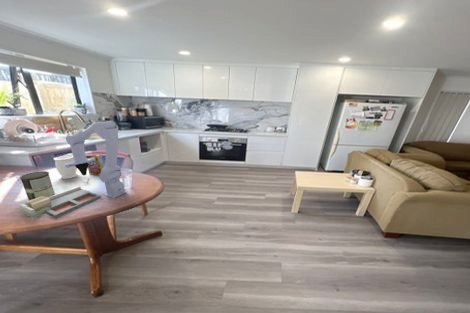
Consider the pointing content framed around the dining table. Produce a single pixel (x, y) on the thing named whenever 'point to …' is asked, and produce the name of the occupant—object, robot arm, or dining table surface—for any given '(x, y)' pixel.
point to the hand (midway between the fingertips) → (84, 174)
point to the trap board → (63, 203)
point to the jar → (62, 168)
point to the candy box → (95, 164)
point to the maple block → (39, 203)
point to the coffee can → (37, 184)
